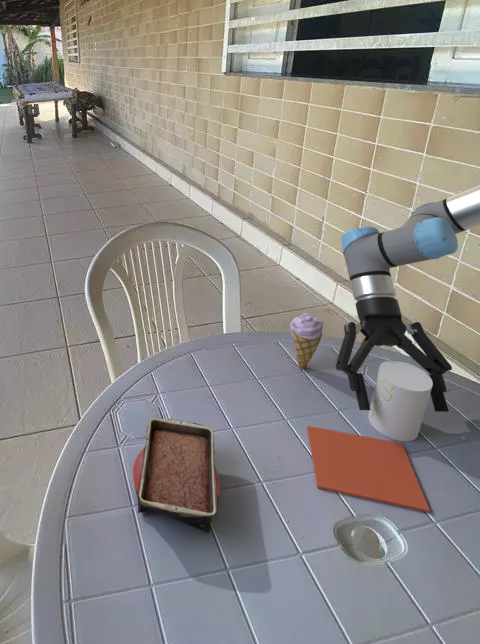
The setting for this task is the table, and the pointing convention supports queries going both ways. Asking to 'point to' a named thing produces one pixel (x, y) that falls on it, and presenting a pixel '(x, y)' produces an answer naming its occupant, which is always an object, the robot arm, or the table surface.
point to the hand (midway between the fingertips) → (403, 411)
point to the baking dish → (178, 472)
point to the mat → (365, 468)
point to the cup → (399, 400)
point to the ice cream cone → (306, 337)
